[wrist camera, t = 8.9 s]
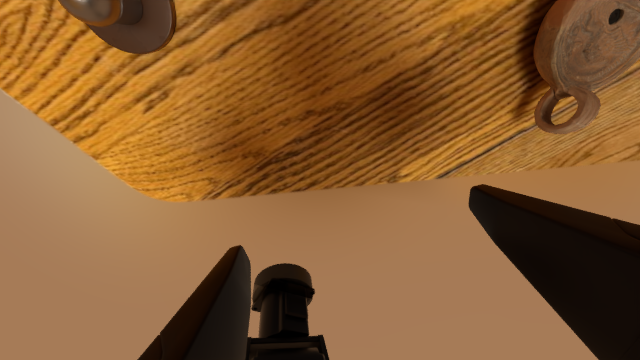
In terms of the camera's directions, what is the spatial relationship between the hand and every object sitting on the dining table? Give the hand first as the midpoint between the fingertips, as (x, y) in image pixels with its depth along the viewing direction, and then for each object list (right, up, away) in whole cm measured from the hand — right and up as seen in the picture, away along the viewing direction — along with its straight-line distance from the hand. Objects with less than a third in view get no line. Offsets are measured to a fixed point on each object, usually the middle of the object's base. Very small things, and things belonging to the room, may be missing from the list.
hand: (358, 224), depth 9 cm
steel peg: (-13, +12, +5) cm, 18 cm away
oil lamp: (+17, +13, +9) cm, 23 cm away
